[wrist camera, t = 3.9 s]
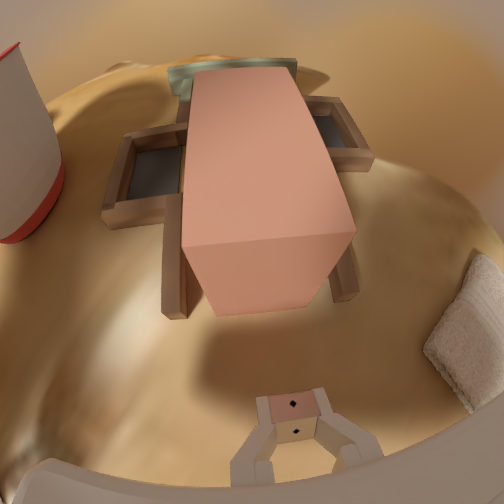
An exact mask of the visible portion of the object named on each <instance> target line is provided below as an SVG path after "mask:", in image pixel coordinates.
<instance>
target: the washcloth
mask: <svg viewBox="0 0 504 504" xmlns="http://www.w3.org/2000/svg"><path fill="white" fill-rule="evenodd" d="M422 352H424V353H425V356H426V357H428V359H429V360H430V361H431V362H432V364H433V366H435V367H436V371H439V372H440V373H441V377H442V378H443V379H445V380H446V382H447V383H448V385H450V386H451V388H452V389H453V391H454V392H455V395H457V397H458V399H459V401H461V402H462V404H463V406H464V408H465V410H467V411H468V412H469V413H470V414H471V413H473V412H475V411H476V410H478V409H479V408H481V407H482V406H483V405H485V404H486V403H488V402H489V401H491V400H492V399H493V398H495V397H496V396H497V395H499V394H500V393H501V392H503V391H504V274H503V272H502V271H501V270H500V268H499V266H498V265H497V264H496V263H495V262H494V261H493V260H492V259H490V258H489V257H487V256H486V255H484V254H476V255H475V257H474V259H473V260H472V262H471V265H470V266H469V269H468V271H467V273H466V275H465V278H464V280H463V283H462V288H461V290H460V291H459V293H458V295H457V296H456V298H455V299H454V302H453V303H451V304H450V305H449V306H448V307H447V309H446V310H445V312H444V314H443V316H442V317H441V319H440V321H439V322H438V324H437V325H436V326H435V327H434V330H433V331H432V333H431V334H430V336H429V337H428V339H427V341H426V342H425V344H424V347H423V351H422Z"/></svg>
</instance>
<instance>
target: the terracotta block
mask: <svg viewBox="0 0 504 504" xmlns="http://www.w3.org/2000/svg"><path fill="white" fill-rule="evenodd" d="M356 232H357V229H356V226H355V223H354V220H353V217H352V214H351V211H350V208H349V205H348V203H347V200H346V197H345V194H344V192H343V189H342V186H341V184H340V181H339V178H338V176H337V173H336V171H335V168H334V166H333V163H332V161H331V159H330V156H329V154H328V151H327V149H326V147H325V144H324V142H323V140H322V138H321V135H320V133H319V131H318V129H317V126H316V124H315V122H314V120H313V118H312V116H311V114H310V112H309V110H308V107H307V105H306V103H305V101H304V99H303V97H302V95H301V93H300V92H299V90H298V88H297V86H296V84H295V82H294V80H293V78H292V76H291V75H290V73H289V71H288V69H287V67H243V68H228V69H217V70H207V71H199V72H195V77H194V85H193V92H192V100H191V108H190V117H189V126H188V136H187V147H186V160H185V174H184V190H183V212H182V249H183V251H184V253H185V255H186V257H187V260H188V262H189V264H190V266H191V268H192V270H193V272H194V274H195V276H196V278H197V280H198V282H199V284H200V285H201V287H202V289H203V291H204V293H205V295H206V297H207V299H208V301H209V303H210V305H211V307H212V308H213V310H214V312H215V314H216V316H217V317H220V316H231V315H242V314H252V313H261V312H270V311H279V310H287V309H295V308H302V307H307V305H308V304H309V302H310V301H311V300H312V298H313V297H314V295H315V294H316V293H317V291H318V290H319V288H320V287H321V285H322V284H323V283H324V281H325V280H326V278H327V277H328V275H329V274H330V272H331V271H332V269H333V268H334V266H335V265H336V263H337V262H338V260H339V259H340V257H341V256H342V254H343V253H344V251H345V250H346V248H347V247H348V245H349V243H350V242H351V240H352V239H353V237H354V236H355V234H356Z"/></svg>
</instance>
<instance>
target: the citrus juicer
mask: <svg viewBox="0 0 504 504" xmlns="http://www.w3.org/2000/svg"><path fill="white" fill-rule="evenodd" d="M19 44H20V42H17V43H16V44H14V45H13V46H11V47H10V48H8V49H7V50H6V51H4V52H3V53H1V54H0V243H3V244H13V243H16V242H19V241H20V240H22V239H24V238H25V237H27V236H28V235H29V234H30V233H31V232H33V231H34V230H35V229H36V228H37V227H38V226H39V224H40V223H41V222H42V221H43V220H44V218H45V217H46V216H47V214H48V213H49V212H50V210H51V209H52V207H53V205H54V204H55V202H56V200H57V198H58V196H59V194H60V191H61V189H62V185H63V182H64V167H63V160H62V153H61V151H60V148H59V144H58V139H57V135H56V132H55V129H54V126H53V123H52V120H51V118H50V116H49V114H48V111H47V109H46V107H45V105H44V103H43V101H42V99H41V97H40V95H39V93H38V91H37V89H36V86H35V84H34V82H33V80H32V78H31V75H30V73H29V71H28V69H27V66H26V64H25V61H24V59H23V57H22V54H21V52H20V49H19V46H18V45H19Z"/></svg>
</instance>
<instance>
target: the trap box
mask: <svg viewBox="0 0 504 504" xmlns="http://www.w3.org/2000/svg"><path fill="white" fill-rule="evenodd" d="M243 67H287V69H288V71H289V73H290V75H291V76H292V78H293V80H294V82H295V79H296V70H297V61H296V59H295V58H247V59H230V60H218V61H208V62H200V63H193V64H186V65H180V66H174V67H168V70H167V73H168V78H169V83H170V87H171V92H172V96H176V95H180V98H179V108H178V114H177V119H176V124H172V125H166V126H160V127H155V128H150V129H145V130H140V131H135V132H131V133H126V134H124V135H123V138H122V141H121V144H120V147H119V150H118V153H117V156H116V159H115V163H114V166H113V169H112V173H111V176H110V180H109V183H108V187H107V191H106V195H105V199H104V203H103V207H102V212H101V216H100V217H101V219H102V220H103V221H104V223H105V224H106V225H107V226H108V228H109V229H110V230H114V229H121V228H129V227H136V226H143V225H151V224H159V223H164V233H163V252H162V286H161V313H163V314H164V315H165V316H166V317H168V318H169V319H170V320H174V319H187V290H186V255H185V253H184V251H183V249H182V212H183V195H182V193H178V189H179V176H180V164H181V153H182V147H175V146H182V145H187V136H188V126H189V117H190V108H191V100H192V92H193V85H194V77H195V72H199V71H207V70H217V69H228V68H243ZM302 97H303V99H304V101H305V103H306V105H307V107H308V110H309V112H310V114H311V116H312V118H313V120H314V122H315V124H316V126H317V129H318V131H319V133H320V135H321V138H322V140H323V142H324V144H325V147H326V149H327V151H328V154H329V156H330V159H331V161H332V163H333V166H334V168H335V171H336V172H368V171H369V169H370V167H371V165H372V163H373V160H374V158H375V157H374V155H373V153H372V152H371V150H370V148H369V147H368V144H367V143H366V141H365V139H364V137H363V136H362V134H361V132H360V130H359V129H358V127H357V125H356V124H355V122H354V121H353V119H352V117H351V116H350V114H349V113H348V111H347V109H346V108H345V106H344V105H343V103H342V102H341V100H340V99H339V98H338V97H323V96H302ZM315 115H325V116H315ZM168 147H174V148H168ZM162 148H168V149H162ZM157 149H162V150H157ZM151 150H156V151H151ZM145 151H150V152H145ZM140 152H145V153H140ZM138 153H139V154H138ZM137 154H138V155H137ZM136 158H137V159H136ZM135 162H136V163H135ZM134 166H135V168H134ZM133 171H134V172H133ZM132 175H133V177H132ZM131 180H132V181H131ZM130 184H131V186H130ZM129 189H130V191H129ZM128 194H129V196H128ZM127 199H128V201H127ZM328 277H329V281H330V286H331V291H332V295H333V300H334V303H335V302H342V301H348V300H350V299H352V298H353V297H354V296H355V295H356V294H357V293H358V292H359V291H360V290H359V286H358V282H357V278H356V274H355V270H354V266H353V263H352V259H351V255H350V252H349V248H348V247H347V248H346V250H345V251H344V253H343V254H342V256H341V257H340V259H339V260H338V262H337V263H336V265H335V266H334V268H333V269H332V271H331V272H330V274H329V275H328Z"/></svg>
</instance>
